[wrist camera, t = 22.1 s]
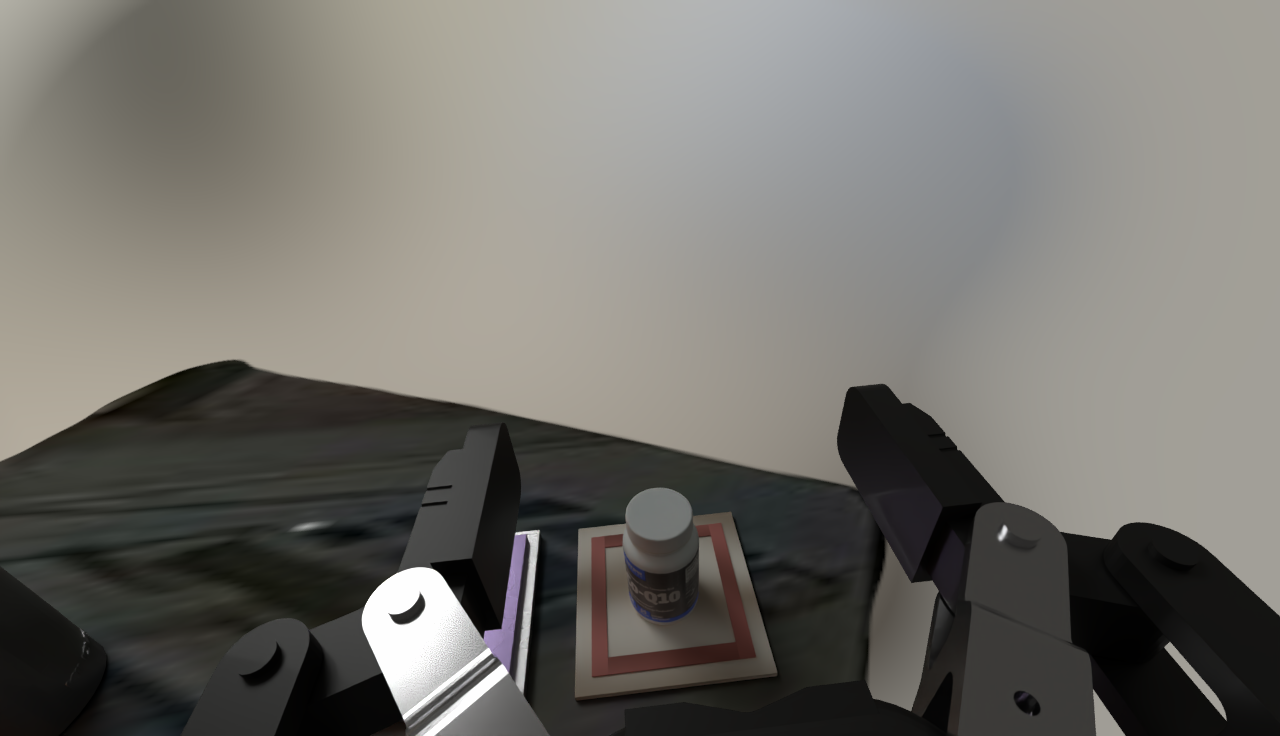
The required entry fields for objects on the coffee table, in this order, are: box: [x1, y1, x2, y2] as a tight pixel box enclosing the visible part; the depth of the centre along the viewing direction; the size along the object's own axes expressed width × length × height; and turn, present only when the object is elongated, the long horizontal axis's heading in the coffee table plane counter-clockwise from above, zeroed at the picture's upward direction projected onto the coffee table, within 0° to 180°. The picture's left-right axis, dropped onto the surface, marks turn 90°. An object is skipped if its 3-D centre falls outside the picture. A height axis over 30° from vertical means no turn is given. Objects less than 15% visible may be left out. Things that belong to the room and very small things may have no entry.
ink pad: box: [399, 530, 541, 722], centre depth 34 cm, size 12×10×2 cm
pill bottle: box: [623, 488, 699, 625], centre depth 32 cm, size 5×5×8 cm
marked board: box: [575, 512, 777, 701], centre depth 35 cm, size 12×12×1 cm
